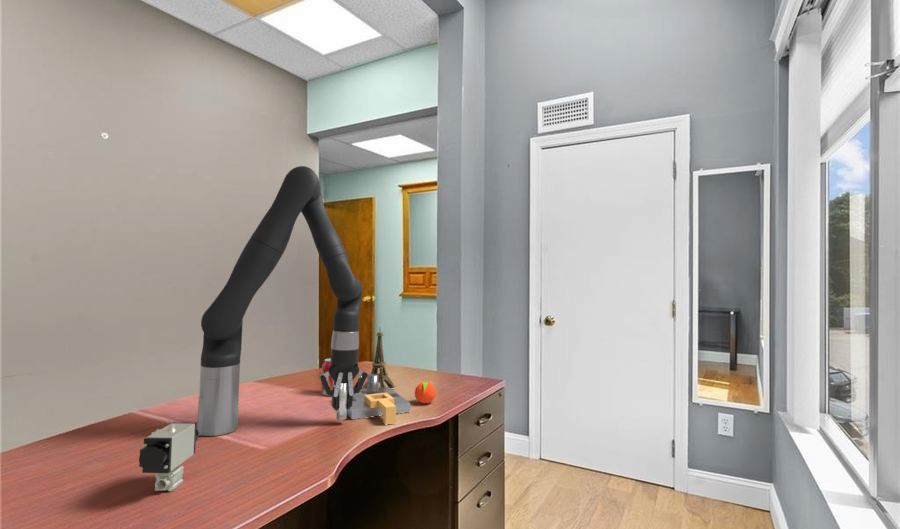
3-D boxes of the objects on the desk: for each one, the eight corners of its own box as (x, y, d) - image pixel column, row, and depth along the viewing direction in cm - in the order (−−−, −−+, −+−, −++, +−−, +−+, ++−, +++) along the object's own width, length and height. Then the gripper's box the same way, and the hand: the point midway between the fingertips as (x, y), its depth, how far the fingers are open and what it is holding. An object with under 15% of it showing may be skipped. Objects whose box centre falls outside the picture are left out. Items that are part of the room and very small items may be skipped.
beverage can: (321, 392, 153) (322, 358, 153) (339, 391, 155) (340, 357, 155) (321, 397, 147) (322, 361, 147) (340, 396, 149) (341, 361, 149)
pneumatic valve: (198, 473, 89) (200, 414, 90) (162, 503, 78) (165, 435, 78) (170, 473, 89) (173, 414, 90) (130, 503, 78) (133, 435, 78)
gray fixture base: (351, 420, 125) (352, 385, 125) (336, 401, 143) (337, 370, 143) (410, 412, 133) (410, 379, 133) (388, 395, 151) (389, 366, 151)
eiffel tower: (358, 392, 154) (360, 322, 155) (370, 385, 165) (372, 319, 165) (386, 395, 152) (388, 323, 153) (396, 387, 162) (398, 320, 163)
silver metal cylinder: (337, 420, 119) (339, 383, 120) (335, 417, 122) (337, 381, 122) (347, 419, 121) (349, 383, 121) (345, 416, 123) (347, 380, 123)
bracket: (378, 426, 120) (378, 408, 120) (363, 411, 133) (364, 394, 133) (402, 423, 123) (403, 405, 123) (386, 408, 136) (386, 392, 136)
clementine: (434, 407, 139) (435, 385, 139) (413, 407, 139) (413, 384, 139) (435, 400, 147) (436, 379, 147) (415, 400, 147) (415, 378, 147)
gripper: (321, 349, 115) (318, 415, 115) (373, 348, 122) (370, 410, 121) (317, 345, 122) (313, 407, 122) (365, 344, 128) (363, 403, 128)
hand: (341, 408), depth 121 cm, fingers closed on silver metal cylinder, 2 cm apart
